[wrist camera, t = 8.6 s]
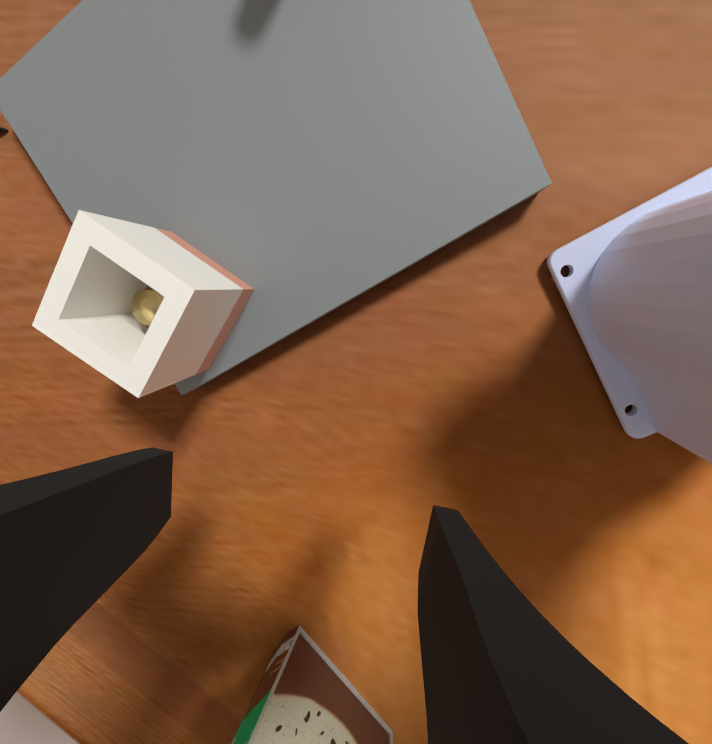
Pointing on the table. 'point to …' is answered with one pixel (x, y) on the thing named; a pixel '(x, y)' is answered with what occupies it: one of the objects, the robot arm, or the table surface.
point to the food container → (308, 702)
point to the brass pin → (146, 305)
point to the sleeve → (114, 296)
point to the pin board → (278, 139)
